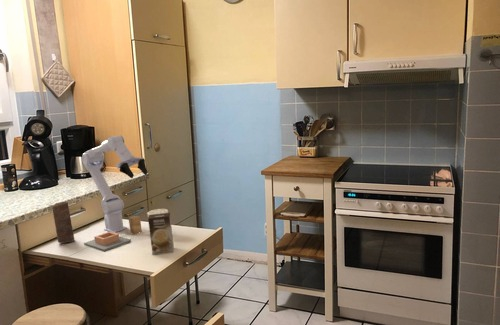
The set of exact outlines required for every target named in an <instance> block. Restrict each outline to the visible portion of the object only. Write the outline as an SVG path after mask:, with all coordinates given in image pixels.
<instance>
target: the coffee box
mask: <svg viewBox="0 0 500 325" xmlns="http://www.w3.org/2000/svg"><path fill="white" fill-rule="evenodd" d="M147 221H148V227H149V228H148V229H149V236H150V244H151V245H150V246H151V255H152V256H155V255H163V254H169V253H174V249H175V248H174V246H175V245H174V239H173V238H174V236H173V230H172V229H173V227H172V221H171V213H170V212H168V213H162V214H153V215H149V217H148V216H147Z"/></svg>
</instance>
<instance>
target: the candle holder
mask: <svg viewBox="0 0 500 325" xmlns="http://www.w3.org/2000/svg"><path fill="white" fill-rule="evenodd" d="M162 213H169V210H168V209H166V208H156V209H152V210H150V211H147V213H146V216H147V218H148V217H149V215H153V214H162Z"/></svg>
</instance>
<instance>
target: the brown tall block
mask: <svg viewBox="0 0 500 325" xmlns="http://www.w3.org/2000/svg"><path fill="white" fill-rule="evenodd" d="M51 208H52V213H53V214H52V215H53V220H54V225H55V231H56V233H55V234H56V237H57V243H59V244H66V243H69V242H74V241H75V236H74V231H73V230H74V229H73V225H72V224H73V223H72V220H71V213H70V208H69V202H68V201H62V202H56V203H54V205H51Z"/></svg>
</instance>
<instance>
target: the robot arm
mask: <svg viewBox="0 0 500 325" xmlns="http://www.w3.org/2000/svg"><path fill="white" fill-rule="evenodd" d="M111 151H113V152H115V154H116V155H117V156H118V158H119V160H121V161H119V162H116V165H115V167H116V168H117V169H119V172H120V173H123V174H125V175H126V176H127V177H129V178H130V179H133V178H134V176H135V174H134V173H133V171H132V169H131V168H130V167H132V166H134V165H137V169H138V170H139V171H141V172H142V174H143V175H144V176H147V175H148V170H147V166H146V159H145V158H144V157H137V156H136V157H135V155H134V154H132V152H131V151H130V149H129V148H128V147H127V145H126V144H125V138H124V137H123V136H122V135H114V136H113V135H112V136H110V137H108V138H105V139H104V141H102V142H101V144H100V145H99V146H96V147H93V148H91V149H89V150H87V151H85V152H84V153H82V156H81V161H82V163H83V166H84V168H85V169H86V171H88V172H89V174H90V176H91V178H92V180H93V182H94V184H95V185H96V186H97V189H98V191H99V193H100V195H101V197H102V200H100V206H101V210H102V212H103V213H104V216H103V218H104V225H105V227H104V231H106V232H113V233H117V232H120V231H124V230H125V229H127V228H128V227H127V226H124V223H123V222H124V221H123V216H122V215H123V214H122V212H123V210H124V207H125V203H124V200H122V198H120V196H119V195H117V194H114V193H113V192H112V190H111V187H110V186H109V184H108V182H107V180H106V178H105V177H104V175H103V172H102V171H101V169H102V168H103V165H104V160H105V154H104V152H106V153H110V152H111Z"/></svg>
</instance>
